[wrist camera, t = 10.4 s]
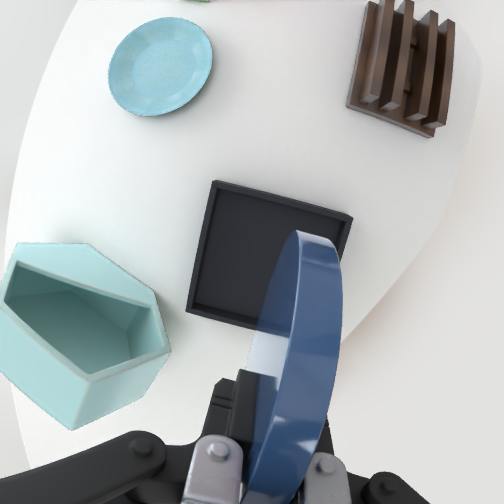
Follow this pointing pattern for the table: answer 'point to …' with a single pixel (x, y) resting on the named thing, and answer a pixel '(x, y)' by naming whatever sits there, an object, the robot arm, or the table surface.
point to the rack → (403, 67)
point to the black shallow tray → (250, 248)
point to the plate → (293, 367)
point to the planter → (77, 331)
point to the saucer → (160, 66)
